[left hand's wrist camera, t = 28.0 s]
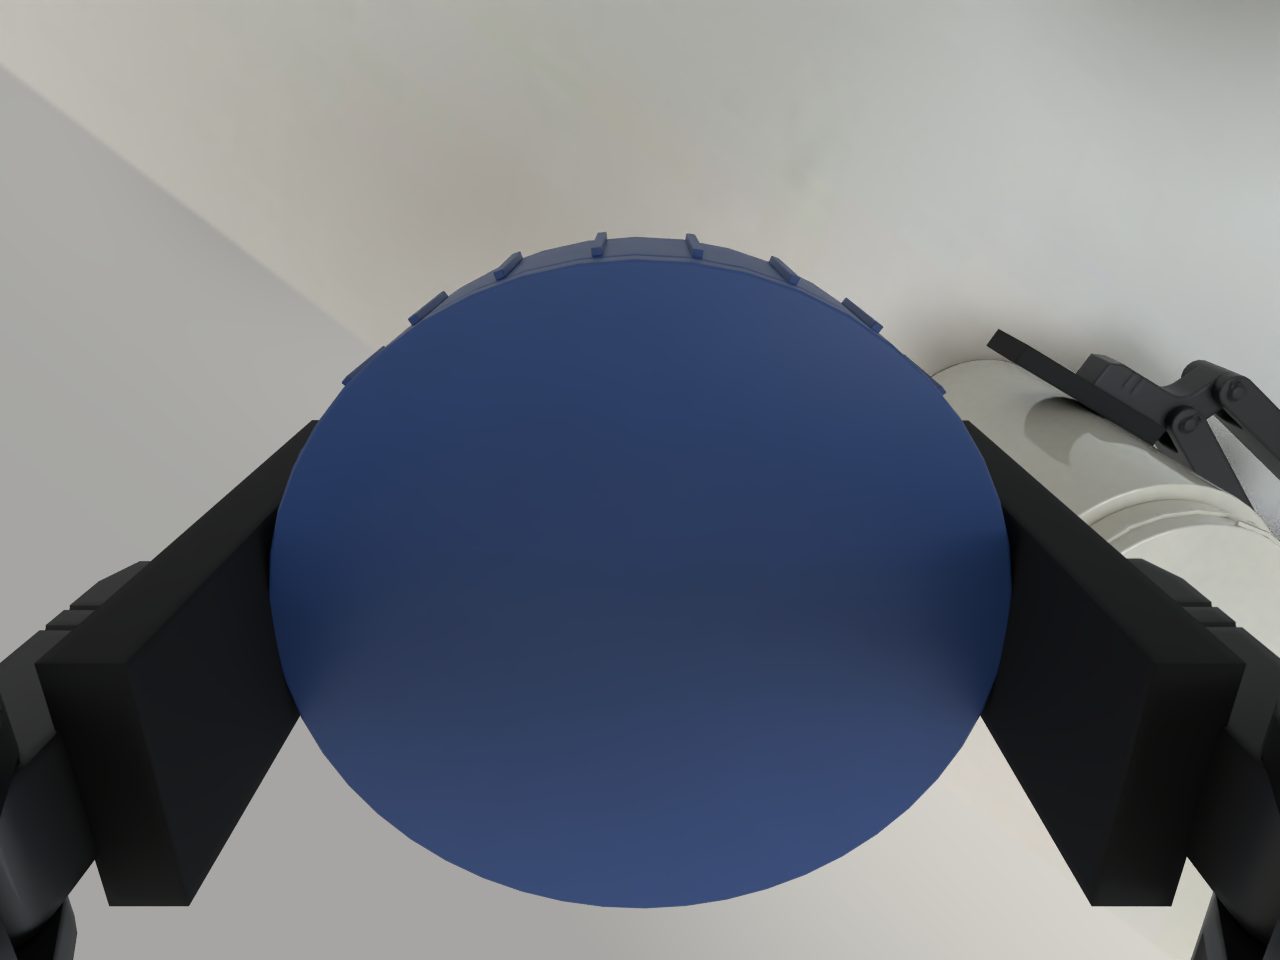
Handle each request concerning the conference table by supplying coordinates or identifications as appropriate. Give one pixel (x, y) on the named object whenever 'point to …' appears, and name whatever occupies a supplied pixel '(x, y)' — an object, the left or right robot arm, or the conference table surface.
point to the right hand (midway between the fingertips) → (935, 442)
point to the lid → (640, 576)
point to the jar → (1127, 490)
